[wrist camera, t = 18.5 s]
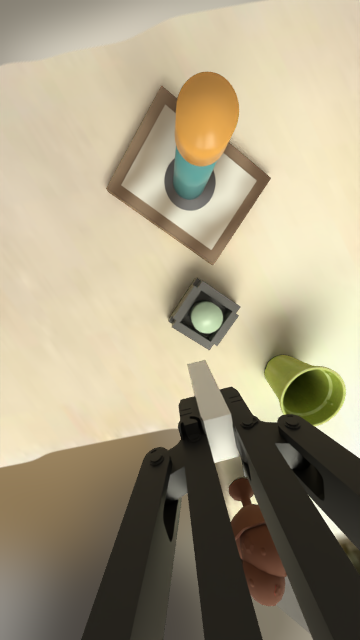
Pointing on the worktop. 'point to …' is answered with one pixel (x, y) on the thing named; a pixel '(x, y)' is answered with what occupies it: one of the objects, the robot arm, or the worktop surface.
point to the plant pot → (305, 389)
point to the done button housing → (194, 295)
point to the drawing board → (161, 198)
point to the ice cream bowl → (256, 548)
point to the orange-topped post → (202, 130)
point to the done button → (206, 316)
